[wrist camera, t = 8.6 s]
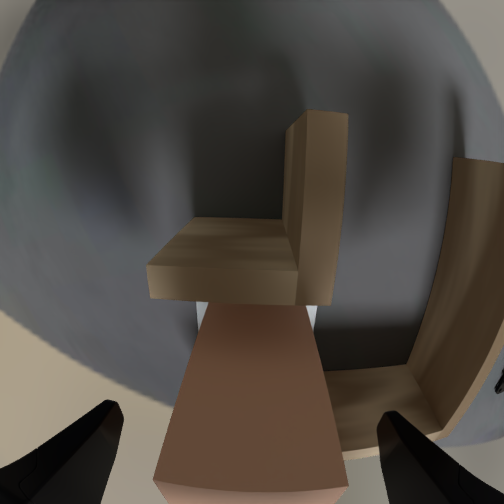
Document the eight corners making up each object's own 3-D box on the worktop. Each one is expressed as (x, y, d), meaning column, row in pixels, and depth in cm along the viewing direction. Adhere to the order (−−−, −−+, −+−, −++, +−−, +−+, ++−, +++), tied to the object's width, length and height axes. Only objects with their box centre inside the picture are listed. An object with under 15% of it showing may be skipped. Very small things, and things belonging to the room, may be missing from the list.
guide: (465, 160, 11) (547, 174, 6) (413, 373, 16) (447, 436, 10) (194, 129, 12) (140, 111, 6) (204, 379, 16) (186, 459, 11)
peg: (292, 350, 15) (313, 528, 5) (218, 347, 15) (183, 523, 5) (299, 283, 13) (348, 486, 4) (215, 281, 14) (152, 479, 4)
